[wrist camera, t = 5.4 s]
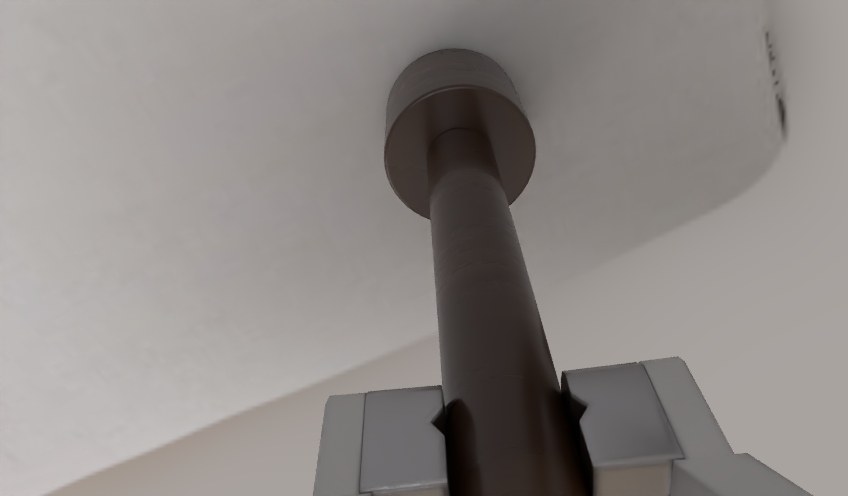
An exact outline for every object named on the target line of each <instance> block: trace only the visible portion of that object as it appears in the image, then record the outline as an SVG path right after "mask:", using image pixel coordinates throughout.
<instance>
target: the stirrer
mask: <svg viewBox="0 0 848 496" xmlns="http://www.w3.org/2000/svg"><path fill="white" fill-rule="evenodd" d="M535 158H536V145H535V138H534V134H533V130H532V128H531V126H530V123H529V121H528V119H527V116H526V114H525V112H524V109H523V107H522V105H521V102H520V100H519V98H518V95H517V93H516V91H515V89H514V86H513V84H512V82H511V80H510V79H509V77H508V75H507V74H506V73H505V72H504V70H503V69H502V68H501V67H500V66H499V65H497V64H496V63H495V62H494V61H492V60H491V59H489V58H488V57H486V56H484V55H482V54H479V53H476V52H473V51H469V50H464V49H445V50H440V51H436V52H433V53H430V54H427V55H425V56H423V57H421V58H419V59H418V60H416V61H415V62H413V63H412V64H411V65H410V66H408V67H407V68H406V69H405V70H404V71H403V72H402V74H401V75H400V76H399V77H398V79H397V80H396V82H395V84H394V86H393V88H392V90H391V92H390V95H389V98H388V103H387V112H386V130H385V147H384V164H385V170H386V174H387V178H388V180H389V182H390V185H391V187H392V188H393V190H394V192H395V193H396V195H397V196H398V197H399V199H400V200H401V201H402V202H403V203H404V204H405V205H406V206H407V207H409V208H410V209H411V210H413V211H414V212H416V213H417V214H419V215H421V216H423V217H425V218H427V219H430V220H431V232H432V246H433V260H434V274H435V288H436V302H437V316H438V330H439V343H440V357H441V372H442V385H443V395H444V401H445V407H446V419H447V431H448V443H449V444H448V448H447V454H448V460H449V466H450V472H451V485H452V496H590V494H589V491H588V487H587V484H586V480H585V477H584V473H583V470H582V466H581V463H580V459H579V453H578V450H577V446H576V442H575V439H574V435H573V433H572V430H571V427H570V424H569V420H568V416H567V413H566V409H565V405H564V402H563V398H562V395H561V389H560V386H559V382H558V379H557V375H556V371H555V368H554V365H553V361H552V357H551V354H550V350H549V347H548V343H547V340H546V336H545V333H544V329H543V325H542V322H541V318H540V315H539V312H538V308H537V304H536V300H535V297H534V293H533V290H532V286H531V283H530V279H529V276H528V272H527V269H526V265H525V261H524V258H523V254H522V251H521V247H520V244H519V240H518V237H517V233H516V229H515V226H514V222H513V219H512V215H511V212H510V208H509V205H511V204H512V203H513V202H514V201H515V200H516V199H517V198H518V196H519V195H520V194H521V193H522V191H523V190H524V188H525V187H526V185H527V184H528V181H529V179H530V177H531V175H532V172H533V168H534V164H535Z"/></svg>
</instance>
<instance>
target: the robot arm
mask: <svg viewBox="0 0 848 496" xmlns="http://www.w3.org/2000/svg"><path fill="white" fill-rule="evenodd" d="M561 395H562V398H563V402H564V405H565V409H566V413H567V416H568V420H569V424H570V427H571V430H572V433H573V435H574V439H575V442H576V446H577V450H578V453H579V459H580V463H581V466H582V470H583V473H584V477H585V480H586V484H587V487H588V491H589V494H590V496H813V495H811V494H810V493H808V492H806V491H805V490H803V489H802V488H800V487H799V486H797V485H796V484H794V483H793V482H791V481H790V480H788V479H786V478H785V477H783V476H782V475H780V474H779V473H777V472H776V471H774V470H772V469H771V468H769V467H768V466H766V465H765V464H763V463H762V462H760V461H759V460H757V459H755V458H754V457H752V456H751V455H749V454H748V453H743V454H734V452H733V451H732V449H731V447H730V445H729V443H728V442H727V440H726V438H725V436H724V434H723V432H722V430H721V428H720V427H719V425H718V423H717V421H716V419H715V417H714V415H713V413H712V412H711V410H710V408H709V406H708V404H707V402H706V400H705V399H704V397H703V395H702V393H701V391H700V389H699V387H698V386H697V384H696V382H695V380H694V378H693V376H692V374H691V373H690V371H689V369H688V367H687V365H686V363H685V362H684V361H683V360H682V359H680V358H679V357H671V358H663V359H656V360H648V361H640V362H639V363H636V362H634V363H626V364H617V365H610V366H601V367H593V368H585V369H576V370H568V371H562V376H561ZM448 444H449V443H448V431H447V419H446V407H445V401H444V395H443V389H442V386H441V385H438V386H427V387H415V388H404V389H393V390H381V391H370V392H368V393H358V394H347V395H333V396H329V398H328V401H327V403H326V405H325V411H324V418H323V425H322V432H321V440H320V447H319V454H318V462H317V469H316V476H315V484H314V491H313V496H452V485H451V472H450V466H449V460H448V454H447V448H448Z"/></svg>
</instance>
